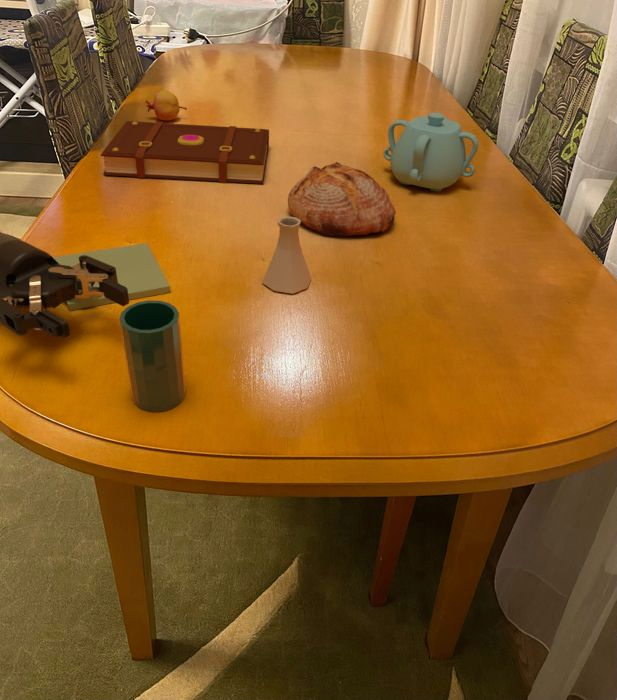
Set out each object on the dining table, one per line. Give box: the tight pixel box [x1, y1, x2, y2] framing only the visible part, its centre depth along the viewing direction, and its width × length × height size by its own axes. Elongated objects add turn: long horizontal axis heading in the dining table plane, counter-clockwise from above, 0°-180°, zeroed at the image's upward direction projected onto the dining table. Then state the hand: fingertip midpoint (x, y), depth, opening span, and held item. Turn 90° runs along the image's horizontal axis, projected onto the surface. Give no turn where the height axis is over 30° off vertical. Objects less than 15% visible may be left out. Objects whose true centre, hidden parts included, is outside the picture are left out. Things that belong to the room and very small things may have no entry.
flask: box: [261, 215, 312, 295], centre depth 89 cm, size 7×7×10 cm
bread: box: [287, 161, 396, 237], centre depth 108 cm, size 16×20×10 cm
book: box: [100, 120, 270, 185], centre depth 127 cm, size 23×32×5 cm
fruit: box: [144, 89, 188, 122], centre depth 148 cm, size 7×7×10 cm
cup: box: [119, 299, 186, 413], centre depth 67 cm, size 6×6×11 cm
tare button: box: [76, 278, 93, 290], centre depth 83 cm, size 3×3×2 cm
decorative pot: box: [383, 112, 479, 192], centre depth 124 cm, size 16×16×14 cm
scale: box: [53, 242, 172, 312], centre depth 89 cm, size 14×14×2 cm
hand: (97, 314), depth 69 cm, fingers open, 8 cm apart
